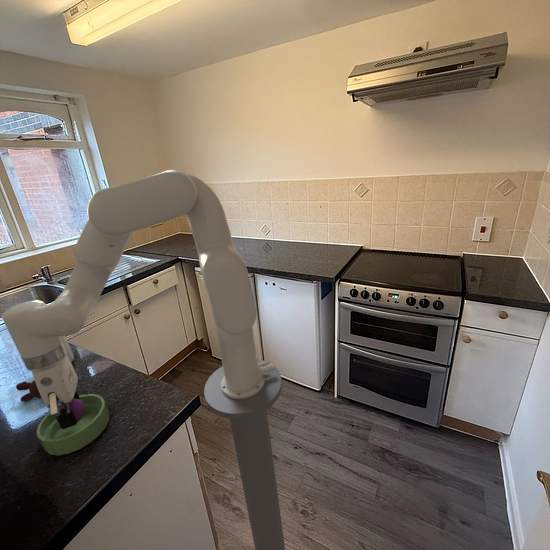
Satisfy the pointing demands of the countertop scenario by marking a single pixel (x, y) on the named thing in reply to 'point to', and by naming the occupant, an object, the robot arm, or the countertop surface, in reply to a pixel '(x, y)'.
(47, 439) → the bowl
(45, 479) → the countertop surface
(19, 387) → the brown gnome figurine
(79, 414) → the ball
